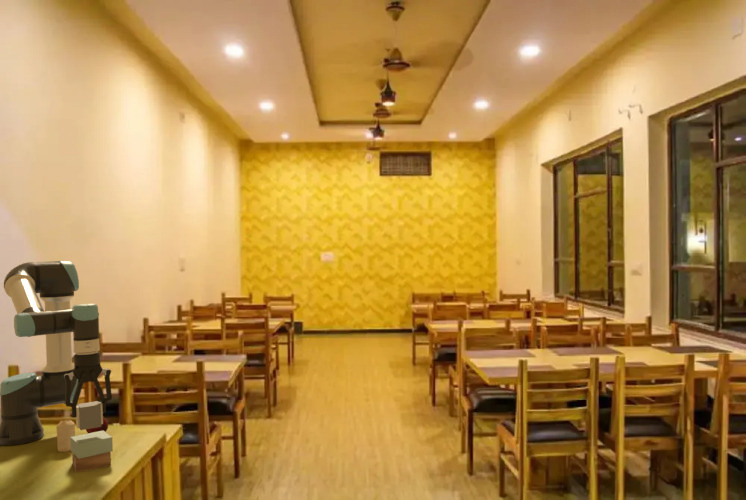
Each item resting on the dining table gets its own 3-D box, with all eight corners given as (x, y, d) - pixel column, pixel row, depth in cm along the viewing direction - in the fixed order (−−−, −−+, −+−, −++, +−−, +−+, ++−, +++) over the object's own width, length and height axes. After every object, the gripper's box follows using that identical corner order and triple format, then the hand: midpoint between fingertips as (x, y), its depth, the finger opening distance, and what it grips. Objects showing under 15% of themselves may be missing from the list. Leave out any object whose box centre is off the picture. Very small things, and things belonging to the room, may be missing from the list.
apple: (82, 436, 227) (81, 414, 227) (104, 431, 232) (103, 410, 232) (89, 440, 221) (88, 418, 221) (111, 435, 226) (110, 414, 226)
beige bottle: (68, 452, 209) (67, 422, 209) (53, 451, 210) (52, 422, 210) (79, 447, 214) (77, 418, 214) (65, 446, 215) (64, 418, 215)
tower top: (70, 451, 197) (70, 437, 197) (103, 444, 203) (103, 430, 203) (78, 458, 189) (78, 444, 189) (112, 451, 196) (112, 437, 196)
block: (78, 425, 197) (77, 404, 197) (98, 422, 200) (97, 401, 200) (80, 430, 192) (79, 407, 192) (101, 426, 195) (100, 404, 195)
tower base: (72, 464, 198) (72, 450, 198) (106, 457, 203) (105, 444, 203) (76, 473, 189) (75, 459, 189) (111, 466, 195) (110, 452, 195)
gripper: (54, 357, 188) (57, 433, 188) (120, 350, 198) (123, 422, 198) (52, 354, 194) (55, 427, 194) (116, 347, 204) (119, 417, 204)
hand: (89, 425), depth 196 cm, fingers closed on block, 6 cm apart
